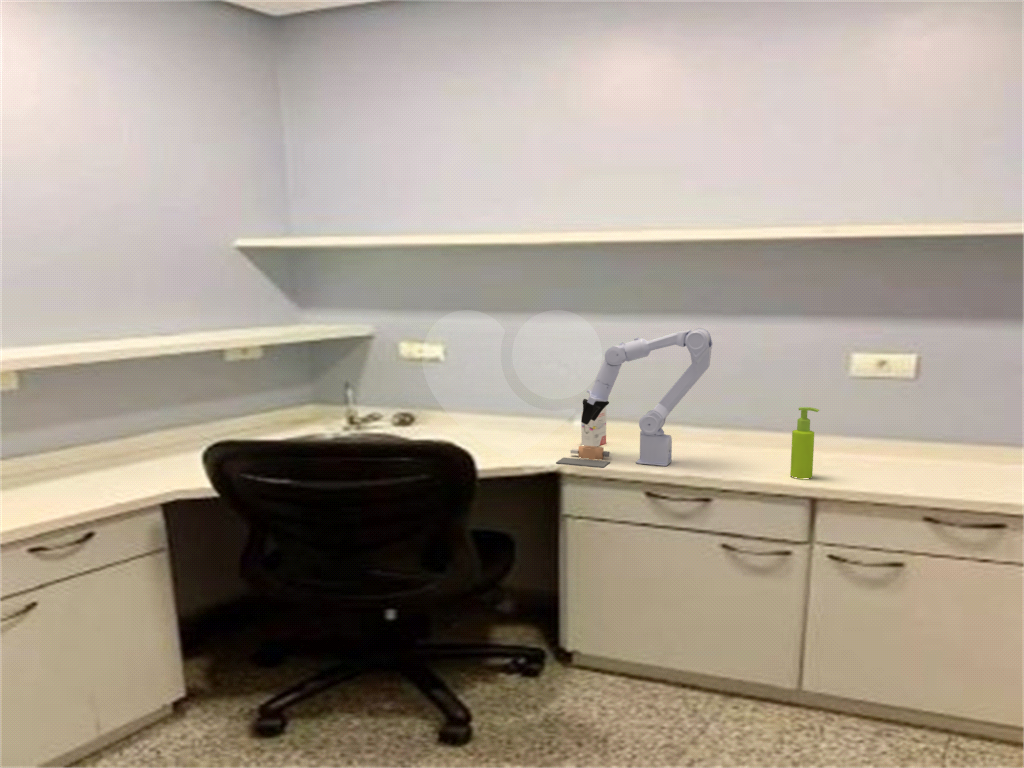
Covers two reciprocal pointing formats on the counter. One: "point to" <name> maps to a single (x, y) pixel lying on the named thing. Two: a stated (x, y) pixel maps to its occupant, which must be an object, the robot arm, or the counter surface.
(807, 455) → the soap dispenser
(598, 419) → the ink cartridge box
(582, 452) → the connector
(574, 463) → the mat
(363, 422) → the counter surface
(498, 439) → the counter surface
